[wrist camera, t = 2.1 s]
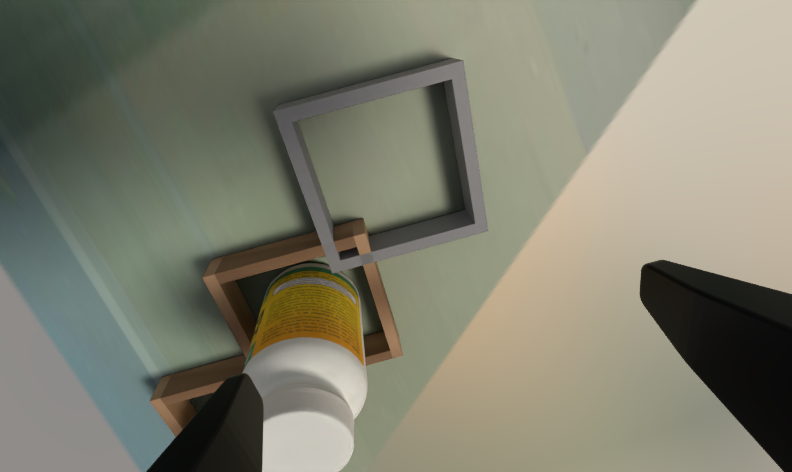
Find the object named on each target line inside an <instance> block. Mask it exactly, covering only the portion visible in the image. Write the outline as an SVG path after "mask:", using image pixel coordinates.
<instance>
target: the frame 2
mask: <svg viewBox="0 0 792 472" xmlns="http://www.w3.org/2000/svg"><path fill="white" fill-rule="evenodd" d="M439 82H443V83H444V89H445V95H446V101H447V106H448V112H449V118H450V124H451V130H452V136H453V141H454V147H455V153H456V159H457V165H458V171H459V176H460V182H461V188H462V194H463V200H464V206H465V210H463V211H460V212H456V213H452V214H449V215H445V216H441V217H438V218H434V219H430V220H427V221H423V222H419V223H416V224H412V225H408V226H405V227H401V228H397V229H394V230H390V231H386V232H383V233H379V234H375V235H372V236H369V241H370V248H371V252H370V253H372V255H371V254H370V253H366V254H364V255H361V256H360V255H359V252H358V249H357V247H354V248H351V249H347V250H343V251H340V252H337V250H336V247H335V244H334V243H333V242H334V225H333V222H332V219H331V217H330V214H329V211H328V208H327V205H326V202H325V199H324V196H323V193H322V190H321V187H320V184H319V182H318V179H317V176H316V173H315V170H314V167H313V164H312V161H311V158H310V155H309V152H308V150H307V147H306V144H305V141H304V138H303V135H302V132H301V129H300V126H299V123H298V120H302V119H306V118H309V117H313V116H317V115H321V114H324V113H328V112H332V111H335V110H339V109H343V108H347V107H350V106H354V105H358V104H361V103H365V102H369V101H373V100H376V99H380V98H384V97H387V96H391V95H395V94H399V93H402V92H406V91H410V90H413V89H417V88H421V87H425V86H428V85H432V84H436V83H439ZM273 114H274V116H275V119H276V122H277V125H278V127H279V130H280V133H281V135H282V138H283V141H284V144H285V146H286V149H287V152H288V155H289V157H290V160H291V163H292V165H293V168H294V171H295V174H296V176H297V179H298V182H299V184H300V187H301V190H302V193H303V195H304V198H305V201H306V204H307V206H308V209H309V212H310V214H311V217H312V220H313V223H314V225H315V228H316V231H317V233H318V236H319V239H320V242H321V244H322V247H323V250H324V252H325V255H326V258H327V261H328V263H329V266H330V269H331V272H332V274H333V273H336V272H340V271H344V270H347V269H351V268H355V267H358V266H362V265H366V264H369V263H372V260H373V262H377V261H380V260H384V259H388V258H391V257H395V256H398V255H402V254H406V253H409V252H413V251H417V250H420V249H424V248H428V247H431V246H435V245H439V244H442V243H446V242H450V241H453V240H457V239H461V238H464V237H468V236H472V235H475V234H479V233H483V232H486V231H488V225H487V218H486V211H485V205H484V198H483V191H482V184H481V177H480V170H479V163H478V157H477V150H476V143H475V136H474V129H473V122H472V115H471V109H470V102H469V95H468V88H467V81H466V74H465V68H464V61H463V60H459V59H454V58H452V59H448V60H444V61H440V62H437V63H433V64H429V65H425V66H422V67H418V68H414V69H411V70H407V71H403V72H399V73H396V74H392V75H388V76H384V77H381V78H377V79H373V80H370V81H366V82H362V83H358V84H355V85H351V86H347V87H343V88H340V89H336V90H332V91H329V92H325V93H321V94H317V95H314V96H310V97H306V98H302V99H299V100H295V101H291V102H288V103H284V104H280V105H278V106H277V107H276V108H275V110H274V111H273ZM328 243H329V245H328ZM326 245H327V246H326ZM326 247H327V248H326ZM328 253H329V254H328ZM365 255H367V257H368V256H369V257H370V256H371V257H370V258H369V257H368V258H367V257H366V256H365ZM364 256H365V257H364ZM372 256H373V258H372ZM361 257H363V258H361ZM371 258H372V259H371ZM361 259H362V260H363V261H362V260H361ZM367 259H368V260H369V261H368V262H367ZM370 259H371V261H370ZM362 262H364V263H363V264H362Z"/></svg>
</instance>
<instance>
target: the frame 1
mask: <svg viewBox="0 0 792 472" xmlns="http://www.w3.org/2000/svg"><path fill="white" fill-rule="evenodd" d="M245 362H246V357H245V355H241V356H237V357H233V358H230V359H226V360H222V361H219V362H215V363H212V364H208V365H204V366H201V367H197V368H193V369H190V370H186V371H182V372H179V373H175V374H172V375H168V376H164V377H162V378H161V380H160V382H159V384H158V386H157V388H156V390H155V392H154V394H153V396H152V397H151V399H150V403H151V404H152V405H153V407H154V408H155V409H156V411H157V412H158V413H159V415H160V416H161V417H162V419H163V420H164V421H165V423H166V424H167V425H168V427H169V428H170V429H171V431H172V432H173V433H174V435H175V436H176V437H177V435H178V434H179V433H180V432H181V431H182V430H183V428H184V427H185V426H186V425H187V424H188V423H189V421H190V420H191V419H192V418H193V417H194V416H195V414H196V413H197V411H196V410H195V408H194V407H193V405H192V404H191V402H190V401H189V399H191V398H195V397H198V396H202V395H206V394H209V393H213V392H215V391H216V390H217V389H218V388H219V386H220V385H221V384H222V383H223V382H224V381H225V380H226V379H227V378H228V377H230V376H234V375H238V374H242V373H243V369H244V366H245Z"/></svg>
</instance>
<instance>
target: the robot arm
mask: <svg viewBox="0 0 792 472" xmlns="http://www.w3.org/2000/svg"><path fill="white" fill-rule="evenodd" d="M640 298H641V301H642V303H643V305H644V306H645V307H646V309H647V310H648V312H649V313H650V314H651V316H652V317H653V318H654V320H655V321H656V323H657V324H658V325H659V327H660V328H661V330H662V331H663V332H664V333H665V335H666V336H667V338H668V339H669V340H670V342H671V343H672V345H673V346H674V347H675V349H676V350H677V351H678V353H679V354H680V355H681V357H682V358H683V359H684V360H685V362H686V363H687V364H688V365H689V366H690V368H691V369H692V370H693V371H694V372H695V373H696V374H697V375H698V377H700V379H701V380H702V381H703V382H704V383H705V384H706V385H707V387H708V388H709V389H710V390H711V391H712V392H713V393H714V394H715V395H716V397H717V398H718V399H719V400H720V401H721V402H722V403H723V404H724V405H725V407H726V408H727V409H728V410H729V411H730V412H731V413H732V414H733V416H734V417H735V418H736V419H737V420H738V421H739V422H740V423H741V424H742V426H743V427H744V428H745V429H746V430H747V431H748V432H749V433H750V435H751V436H752V437H753V438H754V439H755V440H756V441H757V442H758V443H759V445H760V446H761V447H762V448H763V449H764V450H765V451H766V452H767V454H769V456H770V457H771V458H772V459H773V460H774V461H775V462H776V464H778V466H779V467H780V468H781V469H782V470H783V471H784V472H792V294H789V293H785V292H782V291H778V290H773V289H770V288H767V287H763V286H759V285H756V284H751V283H748V282H744V281H740V280H737V279H733V278H729V277H725V276H722V275H718V274H714V273H710V272H707V271H703V270H699V269H696V268H692V267H688V266H684V265H681V264H677V263H673V262H670V261H666V260H658V261H655V262H651V263H647V264H645V265H643V267H642V269H641V281H640ZM263 417H264V406H263V400H262V397H261V395H260V394H259V392H258V390H257V388H256V387H255V385H254V383H253V381H252V379H251V378H250V376H249V375H248V374H246V373H242V374H238V375H234V376H230V377H228V378H227V379H226V380H225V381H224V382H223V383H222V384H221V385H220V386H219V388H218V389H217V390H216V391H215V392H214V393H213V395H212V396H211V397H210V398H209V399H208V400H207V402H206V403H205V404H204V405H203V406H202V407H201V409H200V410H199V411H198V412H197V413H196V414H195V416H194V417H193V418H192V419H191V420H190V421H189V423H188V424H187V425H186V426H185V427H184V428H183V430H182V431H181V432H180V433H179V434H178V435H177V437H176V438H175V439H174V440H173V441H172V442H171V444H170V445H169V446H168V447H167V448H166V449H165V451H164V452H163V453H162V454H161V455H160V456H159V458H158V459H157V460H156V461H155V462H154V463H153V465H152V466H151V467H150V468H149V469H148V470H147V472H262V463H263Z"/></svg>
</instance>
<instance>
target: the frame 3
mask: <svg viewBox="0 0 792 472" xmlns="http://www.w3.org/2000/svg"><path fill="white" fill-rule="evenodd" d="M333 243H334V244H335V247H336V250H337V252H340V251H343V250H347V249H351V248H354V247H357V249H358V252H359V255H360V256H361V255H364V254H366V253H370V252H371V248H370V241H369V236H368V232H367V229H366V226H365V222H364V219H359V220H355V221H352V222H348V223H344V224H341V225H337V226H334V242H333ZM328 245H329V243H328ZM326 246H327V245H326ZM326 248H327V247H326ZM328 254H329V253H328ZM370 254H371V255H372V253H370ZM321 256H325V252H324V250H323V247H322V244H321V242H320V239H319V236H318V233H317V231H315V232H311V233H308V234H304V235H300V236H297V237H293V238H289V239H286V240H282V241H278V242H275V243H271V244H267V245H264V246H260V247H256V248H253V249H249V250H245V251H242V252H238V253H234V254H231V255H227V256H223V257H220V258H216V259H212V261H211V263H210V264H209V266H208V268H207V270H206V272H205V273H204V275H203V277H202V278H203V280H204V282H205V284H206V286H207V287H208V289H209V291H210V293H211V295H212V297H213V298H214V300H215V302H216V304H217V306H218V307H219V309H220V311H221V313H222V315H223V317H224V318H225V320H226V322H227V324H228V326H229V328H230V329H231V331H232V333H233V335H234V337H235V339H236V340H237V342H238V344H239V346H240V348H241V349H242V351H243V353H244V355H245V357H246V358H247V355H248V352H249V348H250V345H251V341H252V338H253V335H254V331H255V328H256V324H257V322H256V320H255V318H254V316H253V314H252V312H251V310H250V309H249V307H248V305H247V303H246V301H245V299H244V297H243V295H242V293H241V291H240V289H239V287H238V285H237V283H236V281H235V280H237V279H241V278H245V277H248V276H252V275H256V274H259V273H263V272H267V271H270V270H274V269H278V268H281V267H285V266H289V265H292V264H296V263H300V262H303V261H307V260H310V259H314V258H318V257H321ZM365 256H366V257H367V255H365ZM365 256H364V257H365ZM368 257H369V256H368ZM368 257H367V258H368ZM370 257H371V256H370ZM370 257H369V258H370ZM361 258H363V257H361ZM372 258H373V256H372ZM372 258H371V259H372ZM371 259H370V261H371ZM361 260H362V259H361ZM362 261H363V260H362ZM368 261H369V260H368V259H367V262H368ZM363 263H364V262H362V264H363ZM363 267H364V270H365V274H366V277H367V280H368V283H369V286H370V289H371V292H372V295H373V298H374V301H375V305H376V308H377V311H378V314H379V317H380V320H381V323H382V326H383V329H384V331H383V332H379V333H375V334H372V335H368V336H364V337H363V340H364V350H365V363H366V365H370V364H373V363H377V362H381V361H384V360H388V359H392V358H395V357H399V356H402V355H403V354H402V349H401V344H400V340H399V335H398V332H397V328H396V325H395V322H394V318H393V315H392V312H391V308H390V305H389V302H388V299H387V295H386V292H385V289H384V285H383V282H382V279H381V275H380V272H379V269H378V265H377V262H373V260H372V263H369V264H366V265H363Z"/></svg>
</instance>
